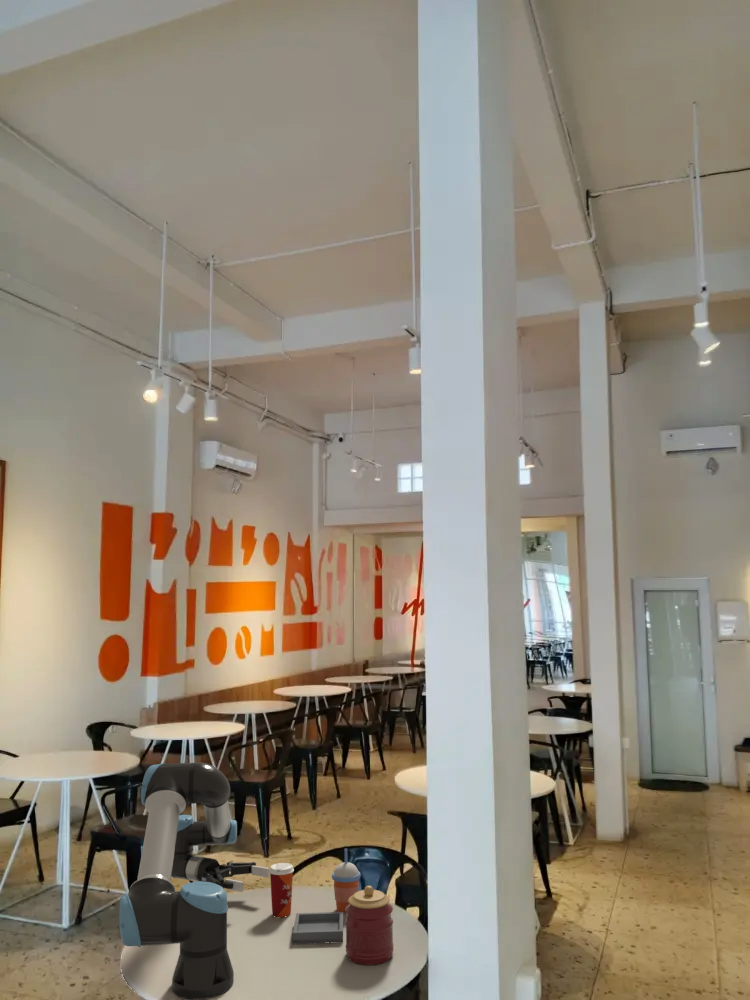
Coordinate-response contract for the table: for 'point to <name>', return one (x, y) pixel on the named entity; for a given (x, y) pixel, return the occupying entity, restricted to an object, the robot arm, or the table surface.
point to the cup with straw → (345, 883)
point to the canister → (369, 927)
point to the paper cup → (281, 888)
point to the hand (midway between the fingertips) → (256, 879)
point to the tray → (318, 927)
